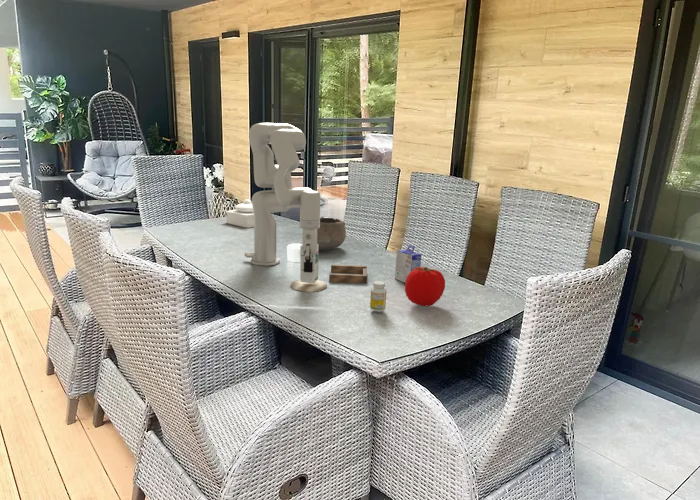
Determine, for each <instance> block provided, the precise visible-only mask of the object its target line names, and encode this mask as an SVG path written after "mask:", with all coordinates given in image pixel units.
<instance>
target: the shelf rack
mask: <svg viewBox="0 0 700 500" xmlns="http://www.w3.org/2000/svg"><path fill="white" fill-rule="evenodd" d="M367 268H368V267H367V265H350V264H330V273H329V274H328V275H329V277H328V278H329V279H328V282H332V283H352V284H353V283H356V284H367V281H368V271H367Z"/></svg>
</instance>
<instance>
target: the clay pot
mask: <svg viewBox="0 0 700 500" xmlns="http://www.w3.org/2000/svg"><path fill="white" fill-rule="evenodd" d="M345 225H346V223H345V222H344V221H343V220H341V219H338V218H334V217H320V228H319V229H317V244H318V251H330V250H334V249H335V248H338V247H340V246H342V245H343V243H344V242H345V240H346V237H347V231H346V227H345Z"/></svg>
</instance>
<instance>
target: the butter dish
mask: <svg viewBox="0 0 700 500" xmlns="http://www.w3.org/2000/svg"><path fill="white" fill-rule="evenodd" d="M225 213H226V224H230V225H235V226H239V227H242V228H254V212H253V207H252V200H251V199H248V198H245V199H244V200H243V201H242V203H238V204H236V205H235V206H234V209H232V210H225Z"/></svg>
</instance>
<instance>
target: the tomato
mask: <svg viewBox="0 0 700 500" xmlns="http://www.w3.org/2000/svg"><path fill="white" fill-rule="evenodd" d="M404 284H405V285H404V292H405V295H406V297H407V299H408V300H409V301H410V302H411V303H412V304H414V305H418V306H421V307H431V306H433V305H435V304H436V303H437V302H438V301H439V300H440V299H441V297H442V296H443V295H444V292H445V288H446V280H445V277H444V275H443V273H442V272H441V271H439V270H437V269H431V268H429V267H428V266H427V267H426V266H425V267H424V266H420V267H417V268H416V267H415V269H414V270H413V271H412V272H410V273H409V275H408V276H407V279H406V283H404Z"/></svg>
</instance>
